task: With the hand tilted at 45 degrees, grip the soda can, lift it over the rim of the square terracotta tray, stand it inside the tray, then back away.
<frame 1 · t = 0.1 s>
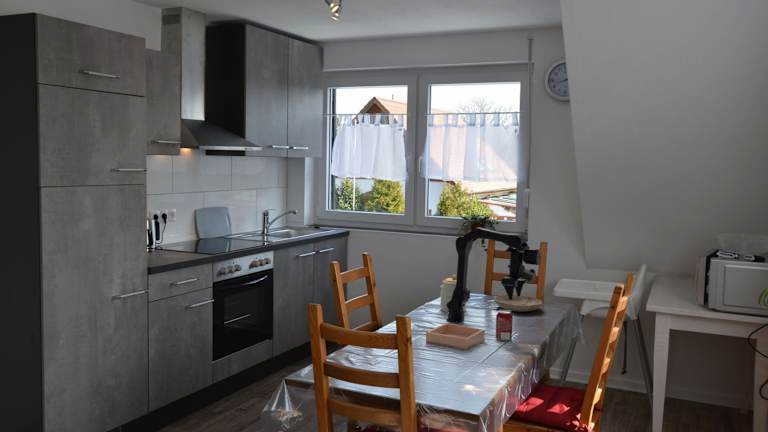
hand: (514, 298, 301), 15 cm above the table, tool pointing down, fingers open, 9 cm apart
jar: (453, 310, 338), on the table
terracotta tray: (455, 341, 283), on the table
ceramic bowl: (517, 309, 343), on the table
soda can: (503, 339, 288), on the table
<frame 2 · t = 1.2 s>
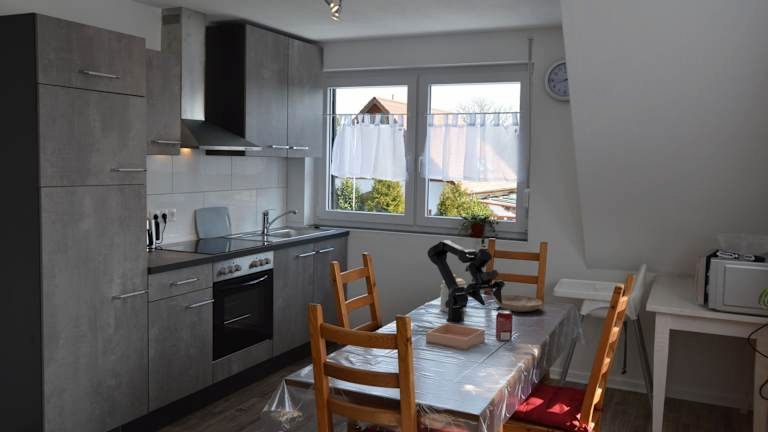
hand: (492, 304, 293), 13 cm above the table, tool tilted 45°, fingers open, 9 cm apart
nothing on the table moved.
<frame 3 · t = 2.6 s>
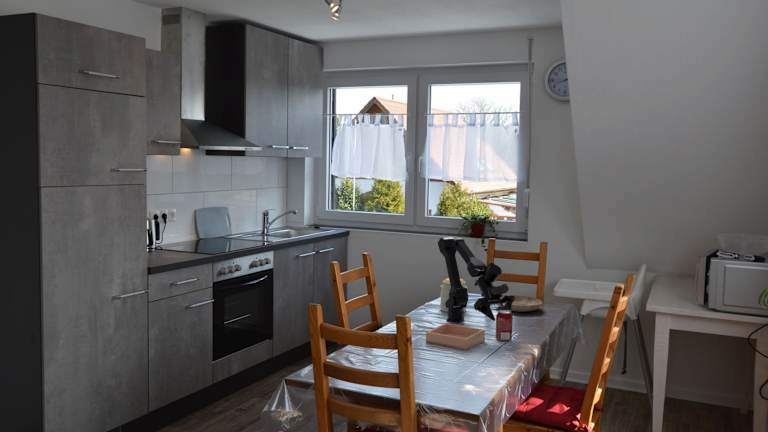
hand: (503, 319, 288), 8 cm above the table, tool tilted 45°, fingers open, 9 cm apart
nothing on the table moved.
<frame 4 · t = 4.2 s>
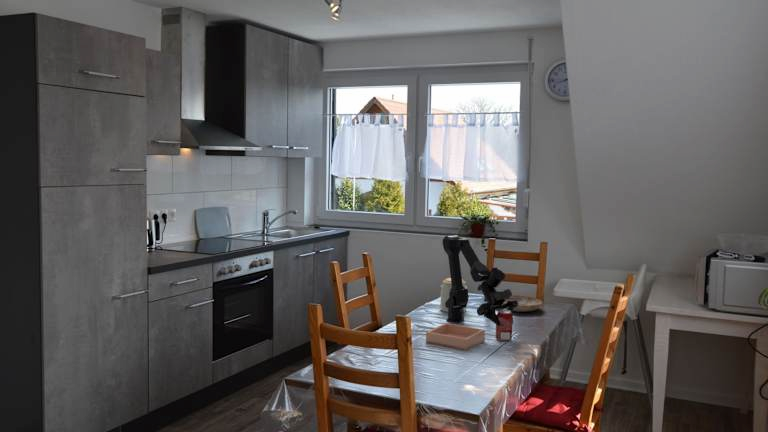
hand: (506, 324, 286), 7 cm above the table, tool tilted 45°, fingers closed on soda can, 6 cm apart
soda can: (503, 339, 288), on the table, touching gripper
everything else where it was.
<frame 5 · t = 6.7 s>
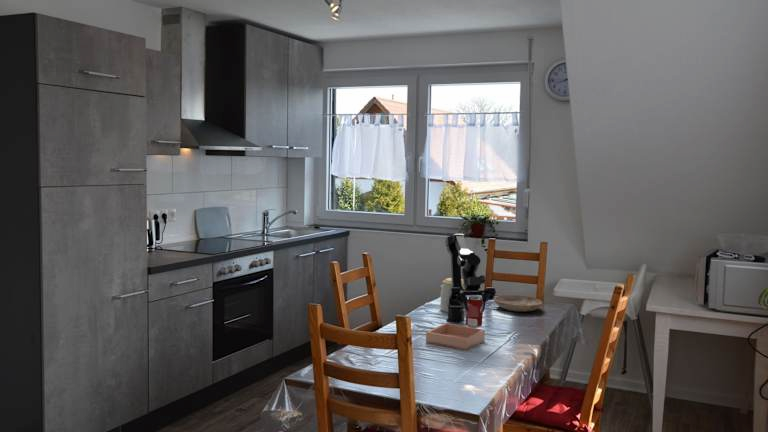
hand: (475, 311, 281), 13 cm above the table, tool tilted 45°, fingers closed on soda can, 6 cm apart
soda can: (473, 326, 283), point 6 cm above the table, touching gripper
everything else where it was.
when the fingers open (9 cm above the table, at t = 9.3 s): soda can drops 1 cm, resting on terracotta tray.
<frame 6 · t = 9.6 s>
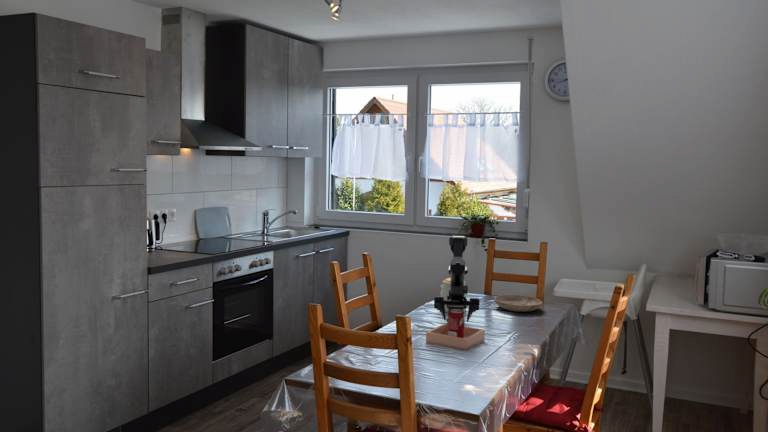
hand: (456, 320, 281), 9 cm above the table, tool tilted 45°, fingers open, 9 cm apart
soda can: (455, 339, 283), point 1 cm above the table, touching terracotta tray
everything else where it was.
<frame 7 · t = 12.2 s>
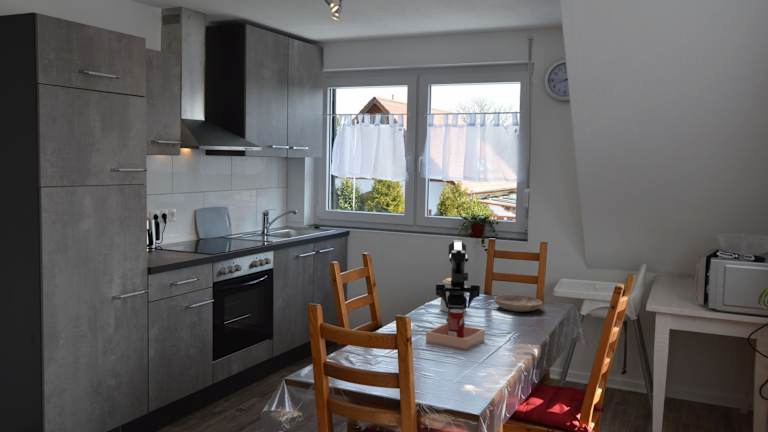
hand: (457, 307, 290), 13 cm above the table, tool tilted 45°, fingers open, 9 cm apart
nothing on the table moved.
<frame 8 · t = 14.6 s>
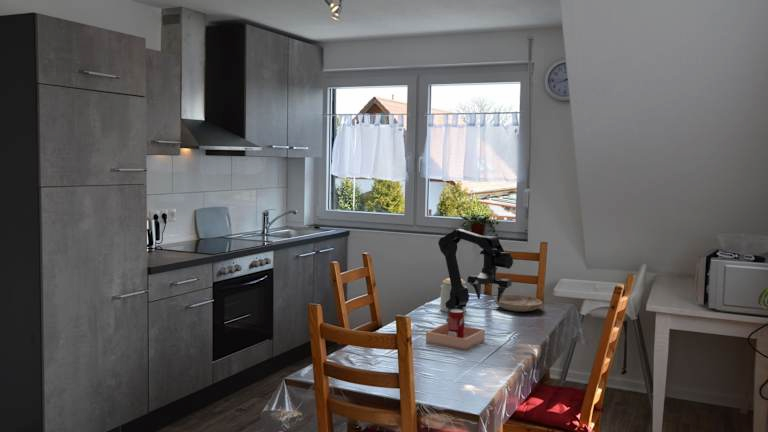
hand: (488, 300, 302), 13 cm above the table, tool pointing down, fingers open, 9 cm apart
nothing on the table moved.
at the end: soda can inside the target area on the terracotta tray (0.3 cm from its centre), point 0.8 cm above the terracotta tray's base; soda can tilted 0°; the gripper is holding nothing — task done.
